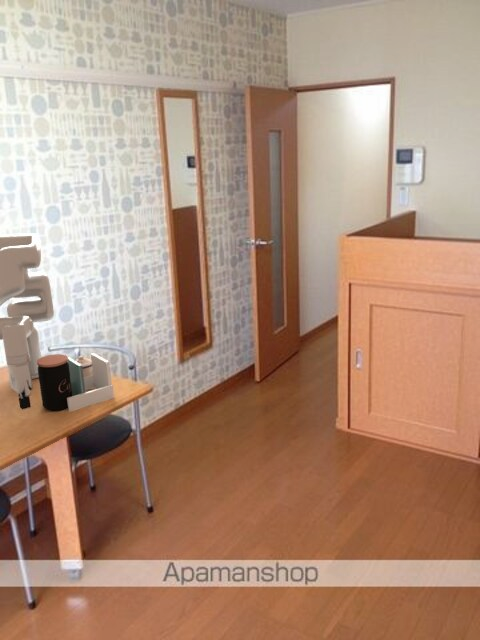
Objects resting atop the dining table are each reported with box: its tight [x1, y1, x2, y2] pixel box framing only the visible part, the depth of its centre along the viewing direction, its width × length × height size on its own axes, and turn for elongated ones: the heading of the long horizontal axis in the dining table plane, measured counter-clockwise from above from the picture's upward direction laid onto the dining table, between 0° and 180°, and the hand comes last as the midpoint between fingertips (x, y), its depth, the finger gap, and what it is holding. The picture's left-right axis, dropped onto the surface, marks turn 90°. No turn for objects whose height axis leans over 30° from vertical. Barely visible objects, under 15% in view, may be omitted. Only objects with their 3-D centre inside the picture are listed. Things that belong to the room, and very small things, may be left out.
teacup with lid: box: [75, 355, 93, 377], centre depth 235 cm, size 12×9×12 cm
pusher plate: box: [67, 356, 86, 396], centre depth 219 cm, size 12×1×15 cm, turn 39°
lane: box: [67, 352, 115, 413], centre depth 220 cm, size 15×17×14 cm
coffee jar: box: [37, 353, 73, 413], centre depth 214 cm, size 11×11×18 cm
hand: (25, 407), depth 209 cm, fingers closed
